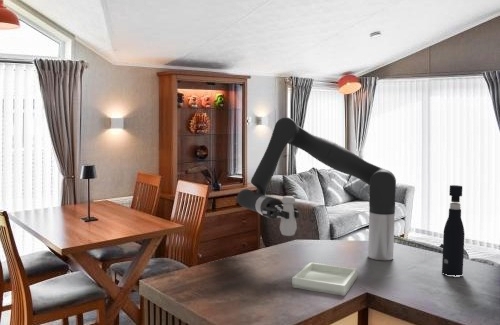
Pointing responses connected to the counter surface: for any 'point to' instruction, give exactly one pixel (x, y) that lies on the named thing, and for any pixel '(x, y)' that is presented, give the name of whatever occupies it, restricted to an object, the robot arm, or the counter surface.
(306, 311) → the counter surface
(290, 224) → the salt shaker
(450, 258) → the black bottle
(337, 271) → the tray
